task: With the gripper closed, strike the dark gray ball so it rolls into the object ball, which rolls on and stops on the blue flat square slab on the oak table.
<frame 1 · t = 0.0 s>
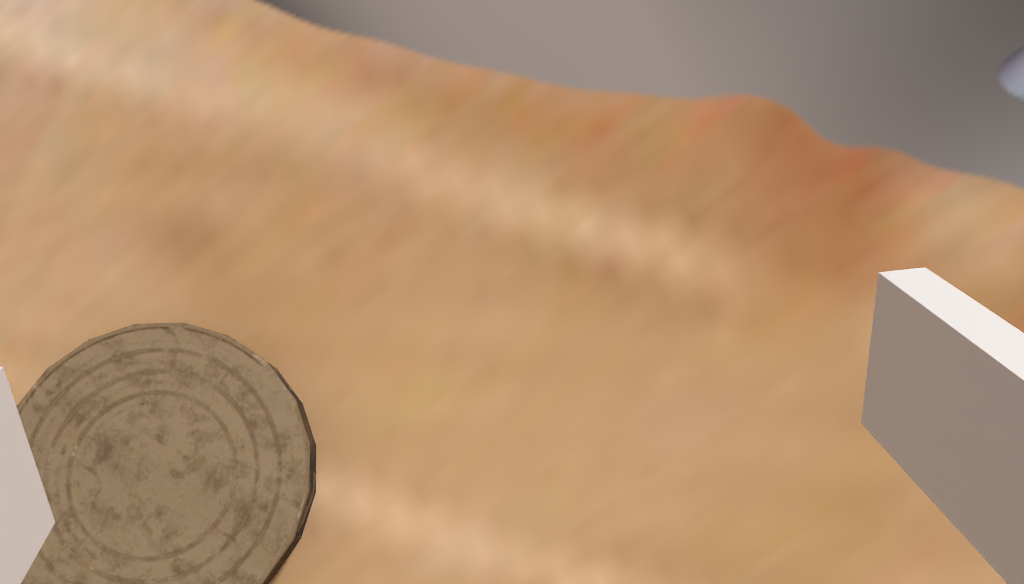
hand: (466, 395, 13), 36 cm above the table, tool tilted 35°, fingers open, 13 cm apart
round stone disc: (172, 475, 48), on the table
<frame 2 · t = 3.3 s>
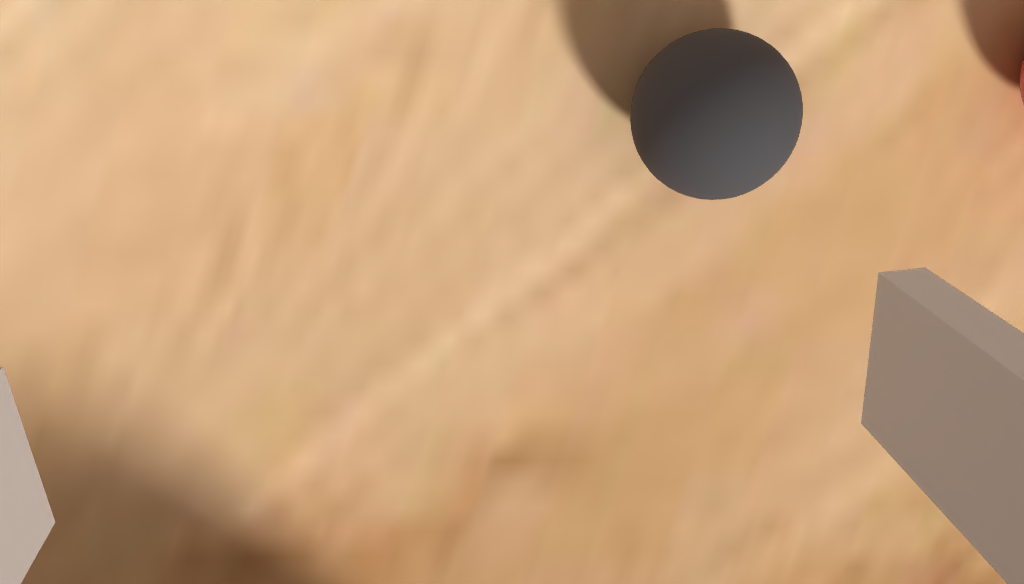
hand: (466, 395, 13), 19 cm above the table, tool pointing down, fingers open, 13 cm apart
dark gray ball: (714, 115, 29), on the table
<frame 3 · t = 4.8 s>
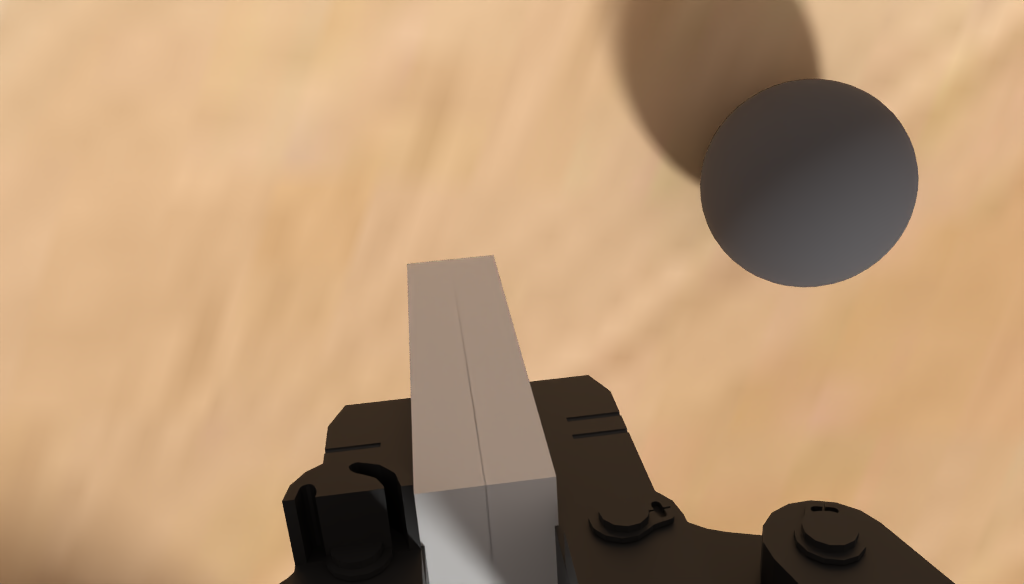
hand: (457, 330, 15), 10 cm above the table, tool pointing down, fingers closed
dark gray ball: (805, 184, 23), on the table
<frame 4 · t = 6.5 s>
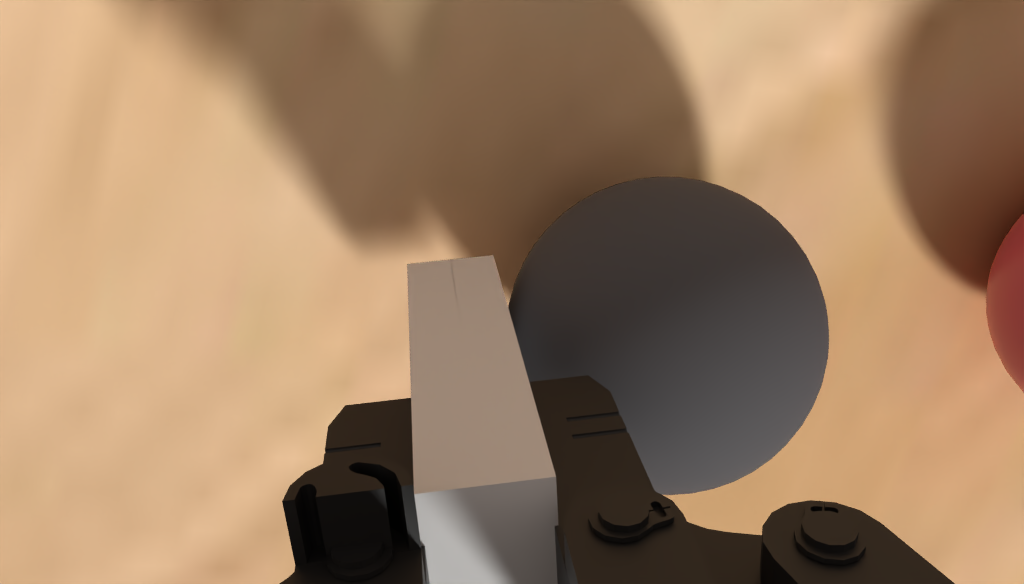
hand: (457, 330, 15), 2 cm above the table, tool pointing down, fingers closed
dark gray ball: (662, 334, 15), on the table
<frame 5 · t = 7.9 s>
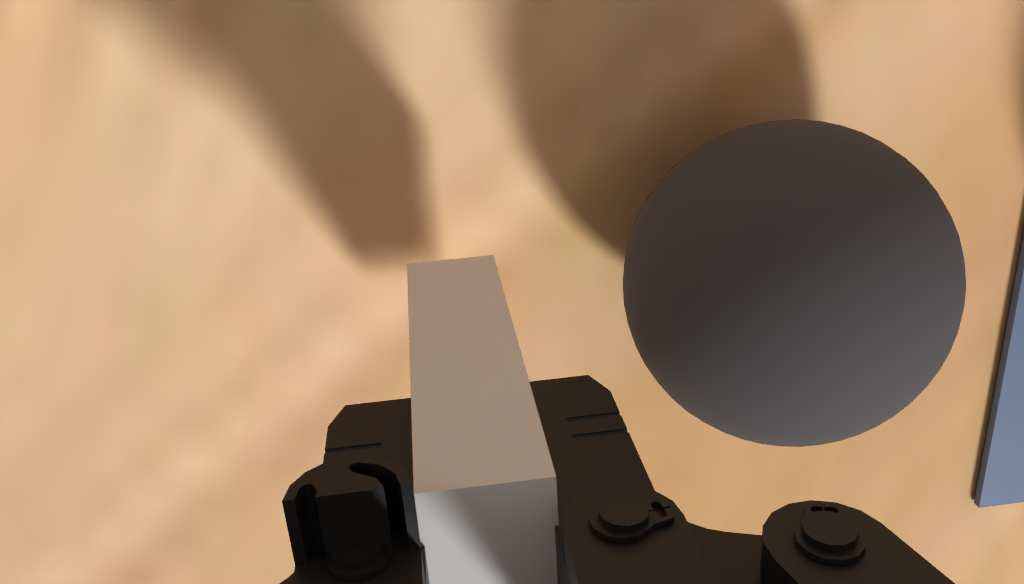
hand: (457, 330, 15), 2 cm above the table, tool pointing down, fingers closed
dark gray ball: (784, 283, 15), on the table
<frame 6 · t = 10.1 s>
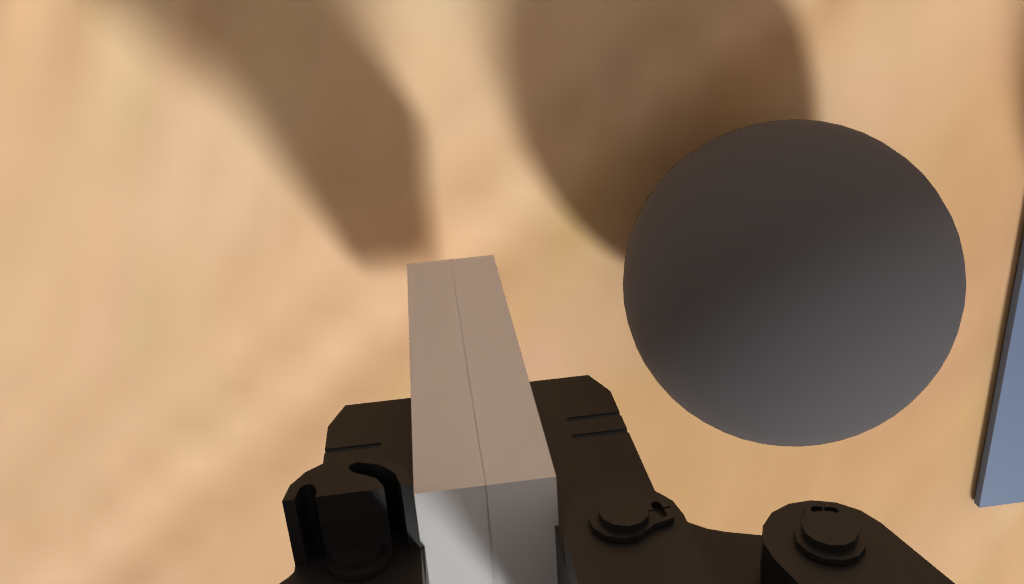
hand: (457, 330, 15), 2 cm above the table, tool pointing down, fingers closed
dark gray ball: (784, 283, 15), on the table
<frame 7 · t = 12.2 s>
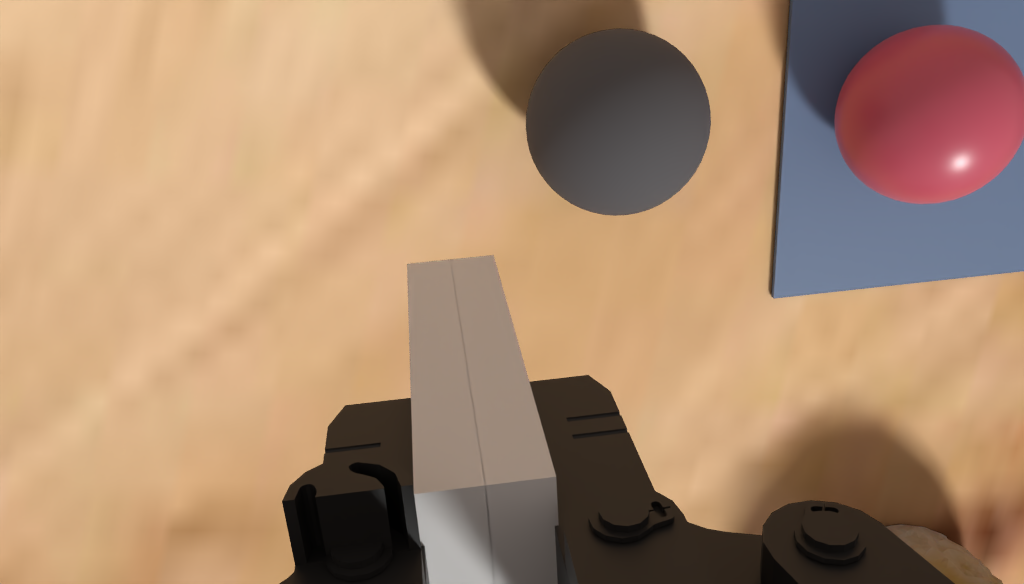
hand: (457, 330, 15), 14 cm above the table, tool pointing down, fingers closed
dark gray ball: (617, 123, 26), on the table
blue flat square slab: (978, 90, 30), on the table
red object ball: (927, 116, 27), resting on blue flat square slab
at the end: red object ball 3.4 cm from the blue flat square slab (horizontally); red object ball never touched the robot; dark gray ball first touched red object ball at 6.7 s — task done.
